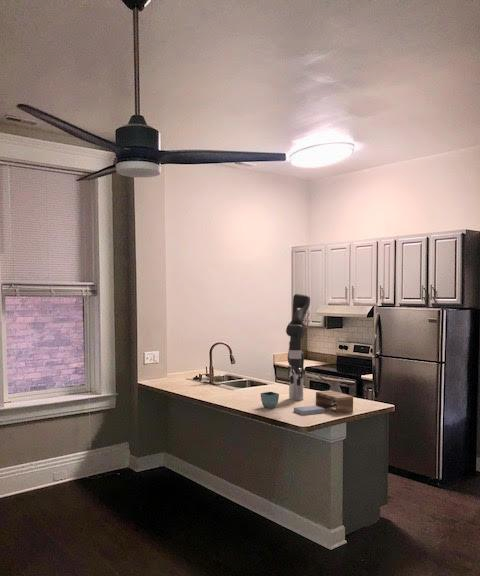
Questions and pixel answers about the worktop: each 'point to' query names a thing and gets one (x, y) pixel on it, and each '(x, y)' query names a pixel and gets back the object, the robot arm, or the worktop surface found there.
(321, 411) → the panel
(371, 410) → the worktop surface
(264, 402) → the flower pot
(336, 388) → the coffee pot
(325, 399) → the brown cardboard box
